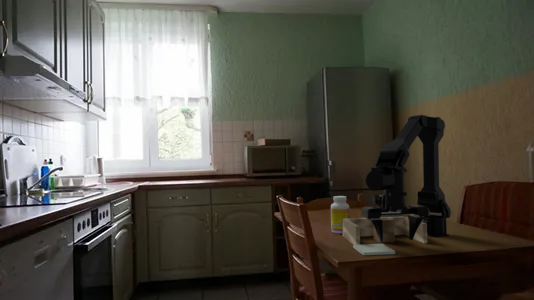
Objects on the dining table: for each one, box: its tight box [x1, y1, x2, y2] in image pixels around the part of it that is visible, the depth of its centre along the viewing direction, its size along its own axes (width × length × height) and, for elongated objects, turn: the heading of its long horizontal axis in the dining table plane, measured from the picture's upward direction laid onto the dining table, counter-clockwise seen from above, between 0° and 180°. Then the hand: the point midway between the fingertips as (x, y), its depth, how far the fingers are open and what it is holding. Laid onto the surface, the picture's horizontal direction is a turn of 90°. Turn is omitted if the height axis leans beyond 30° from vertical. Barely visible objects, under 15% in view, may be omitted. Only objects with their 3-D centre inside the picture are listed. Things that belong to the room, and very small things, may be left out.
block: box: [373, 217, 396, 244], centre depth 119 cm, size 5×5×7 cm
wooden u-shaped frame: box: [342, 215, 428, 245], centre depth 120 cm, size 22×14×6 cm, turn 94°
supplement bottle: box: [330, 195, 351, 235], centre depth 133 cm, size 7×7×13 cm
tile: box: [352, 243, 396, 256], centre depth 107 cm, size 9×9×1 cm
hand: (396, 240), depth 110 cm, fingers open, 9 cm apart
